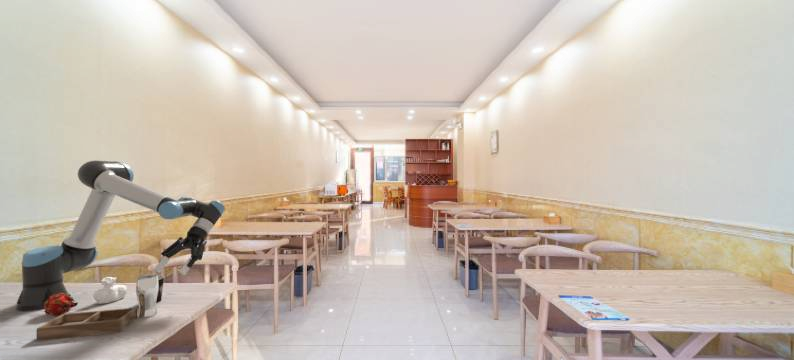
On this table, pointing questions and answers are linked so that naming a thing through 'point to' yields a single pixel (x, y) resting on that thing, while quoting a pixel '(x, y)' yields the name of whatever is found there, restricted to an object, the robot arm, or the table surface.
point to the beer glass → (147, 295)
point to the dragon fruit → (59, 304)
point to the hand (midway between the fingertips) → (168, 272)
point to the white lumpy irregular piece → (110, 291)
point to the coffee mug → (160, 288)
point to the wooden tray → (87, 323)
